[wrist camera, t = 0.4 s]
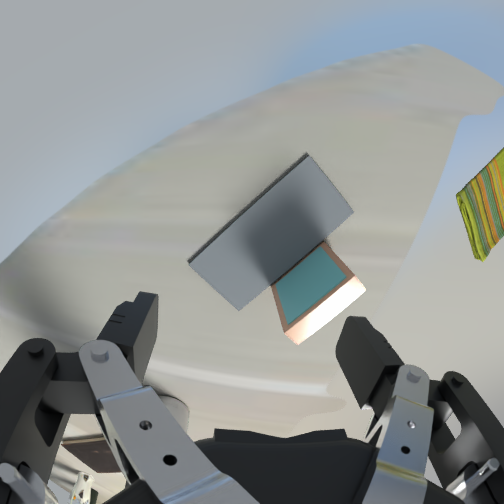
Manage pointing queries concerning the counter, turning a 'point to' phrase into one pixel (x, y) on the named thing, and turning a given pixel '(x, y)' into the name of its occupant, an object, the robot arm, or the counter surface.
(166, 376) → the counter surface
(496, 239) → the dish towel
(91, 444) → the hardcover book
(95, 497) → the wine bottle
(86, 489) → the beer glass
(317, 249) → the tile
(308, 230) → the mat
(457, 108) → the counter surface
